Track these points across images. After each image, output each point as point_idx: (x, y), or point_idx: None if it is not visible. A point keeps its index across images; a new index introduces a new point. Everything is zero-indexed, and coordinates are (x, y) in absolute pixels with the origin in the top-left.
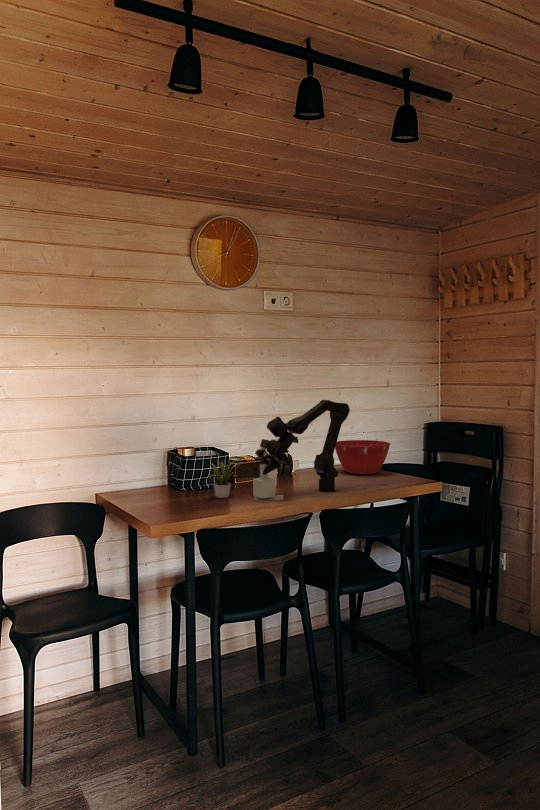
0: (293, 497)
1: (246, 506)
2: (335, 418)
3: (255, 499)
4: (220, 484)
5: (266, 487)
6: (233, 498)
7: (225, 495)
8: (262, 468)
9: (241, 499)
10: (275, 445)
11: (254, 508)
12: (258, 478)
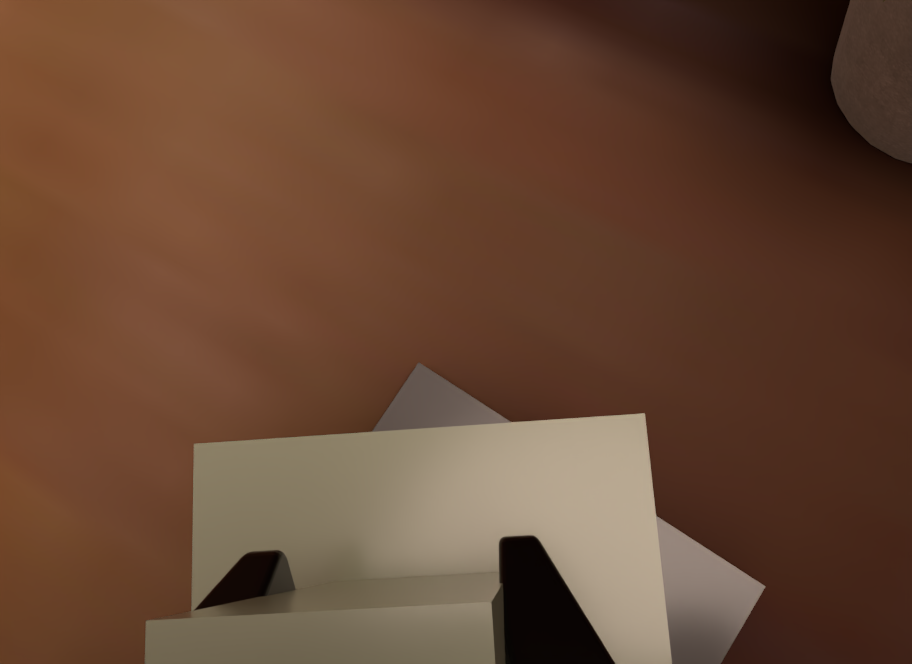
0: None
1: (242, 146)
2: None
3: (414, 397)
4: None
5: None
6: (861, 227)
7: (843, 37)
8: (277, 603)
9: (720, 303)
10: None
11: (70, 183)
12: (603, 573)
